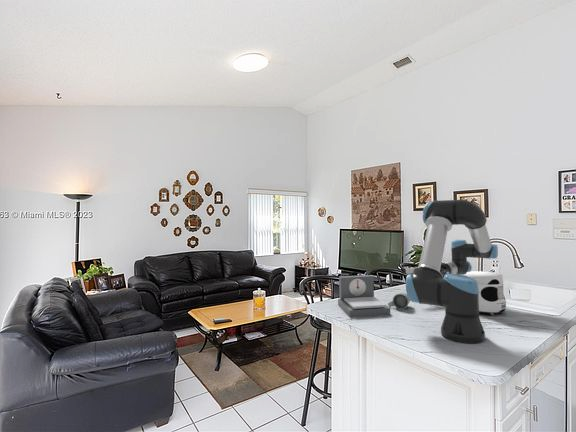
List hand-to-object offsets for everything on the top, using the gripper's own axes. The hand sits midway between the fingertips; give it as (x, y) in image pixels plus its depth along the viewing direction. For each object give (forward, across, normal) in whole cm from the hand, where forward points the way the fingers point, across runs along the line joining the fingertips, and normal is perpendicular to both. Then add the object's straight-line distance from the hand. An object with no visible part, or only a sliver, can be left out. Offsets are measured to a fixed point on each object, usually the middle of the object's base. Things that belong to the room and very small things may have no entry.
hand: (415, 273), depth 172 cm
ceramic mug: (+11, 0, -17) cm, 20 cm away
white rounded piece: (-21, -23, -17) cm, 35 cm away
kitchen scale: (+30, +5, -16) cm, 34 cm away
